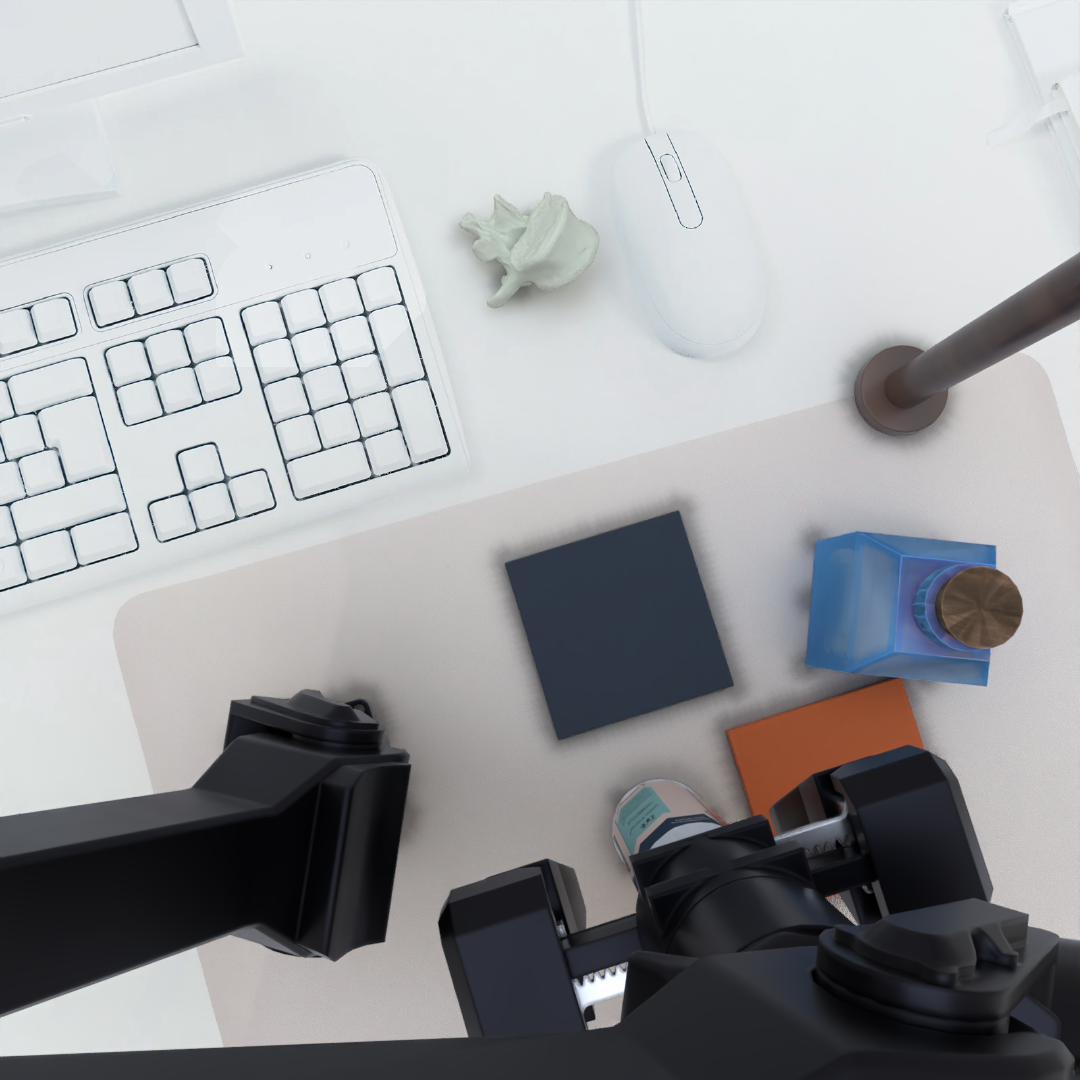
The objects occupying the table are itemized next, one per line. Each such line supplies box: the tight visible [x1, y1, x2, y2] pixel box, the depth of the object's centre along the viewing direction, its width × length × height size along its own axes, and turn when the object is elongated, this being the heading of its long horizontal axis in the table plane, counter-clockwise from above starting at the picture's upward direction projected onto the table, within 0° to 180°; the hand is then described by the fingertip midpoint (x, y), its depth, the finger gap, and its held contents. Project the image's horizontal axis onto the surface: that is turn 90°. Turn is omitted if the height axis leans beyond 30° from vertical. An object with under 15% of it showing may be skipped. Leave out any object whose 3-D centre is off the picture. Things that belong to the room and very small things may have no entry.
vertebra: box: [458, 191, 600, 309], centre depth 50 cm, size 6×7×4 cm
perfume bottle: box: [805, 530, 1024, 688], centre depth 45 cm, size 6×6×12 cm
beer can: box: [611, 778, 729, 894], centre depth 44 cm, size 5×5×12 cm
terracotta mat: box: [725, 677, 926, 899], centre depth 50 cm, size 9×9×1 cm
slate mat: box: [504, 510, 735, 741], centre depth 50 cm, size 9×9×1 cm
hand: (675, 852), depth 44 cm, fingers open, 9 cm apart
